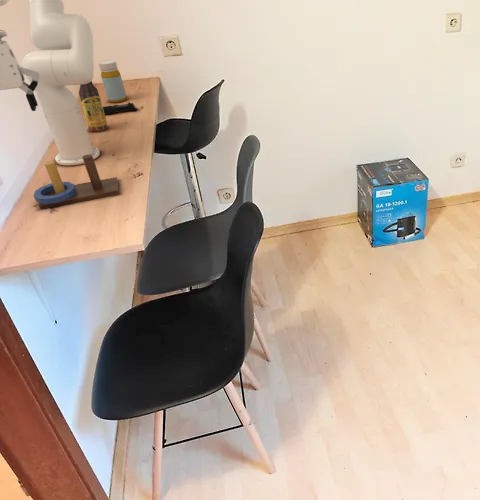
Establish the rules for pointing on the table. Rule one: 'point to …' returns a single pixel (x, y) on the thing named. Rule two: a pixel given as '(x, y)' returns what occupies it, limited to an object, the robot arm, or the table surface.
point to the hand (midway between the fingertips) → (12, 112)
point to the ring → (63, 196)
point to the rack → (83, 190)
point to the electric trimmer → (119, 108)
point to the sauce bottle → (92, 107)
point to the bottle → (112, 81)
